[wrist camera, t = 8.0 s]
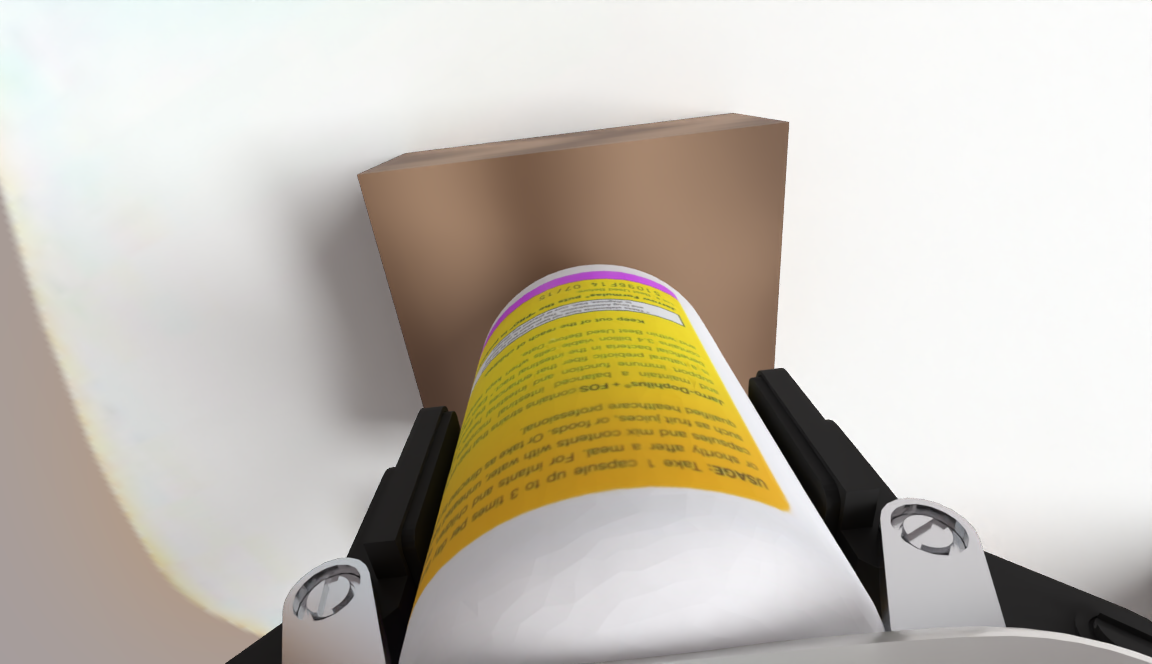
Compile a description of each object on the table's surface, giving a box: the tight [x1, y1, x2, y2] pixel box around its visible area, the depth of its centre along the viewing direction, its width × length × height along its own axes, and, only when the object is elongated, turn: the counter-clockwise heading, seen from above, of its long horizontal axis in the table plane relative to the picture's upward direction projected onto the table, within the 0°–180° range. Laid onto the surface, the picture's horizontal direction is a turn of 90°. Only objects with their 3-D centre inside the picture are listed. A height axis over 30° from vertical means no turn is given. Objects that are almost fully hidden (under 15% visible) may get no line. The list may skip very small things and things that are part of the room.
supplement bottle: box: [399, 264, 886, 664], centre depth 10 cm, size 7×7×13 cm
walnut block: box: [357, 113, 789, 429], centre depth 19 cm, size 12×12×5 cm
